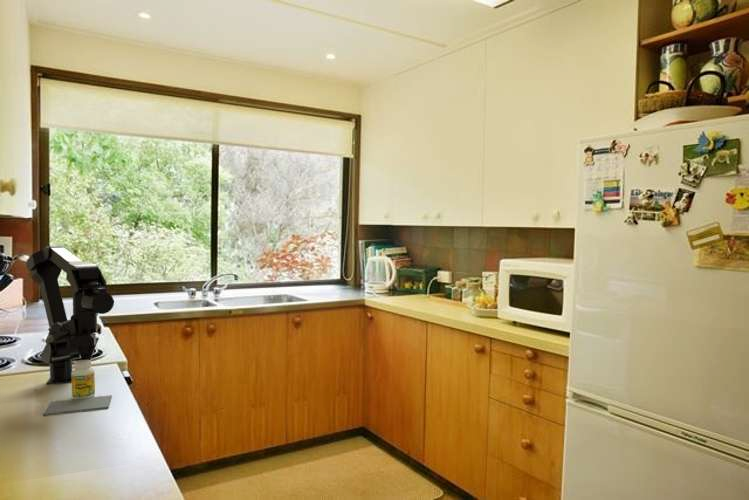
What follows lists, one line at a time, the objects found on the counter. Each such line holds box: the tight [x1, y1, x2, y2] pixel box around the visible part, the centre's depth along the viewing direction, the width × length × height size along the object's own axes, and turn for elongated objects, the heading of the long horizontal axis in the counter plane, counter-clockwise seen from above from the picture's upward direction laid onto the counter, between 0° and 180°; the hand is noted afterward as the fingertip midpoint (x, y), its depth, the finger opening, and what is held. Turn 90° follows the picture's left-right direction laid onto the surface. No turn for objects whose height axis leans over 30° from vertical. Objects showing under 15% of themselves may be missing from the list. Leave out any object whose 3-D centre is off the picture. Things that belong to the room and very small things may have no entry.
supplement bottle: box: [71, 359, 96, 399], centre depth 136 cm, size 5×5×10 cm
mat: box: [42, 394, 113, 417], centre depth 129 cm, size 9×14×1 cm, turn 113°
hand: (86, 365), depth 140 cm, fingers closed
